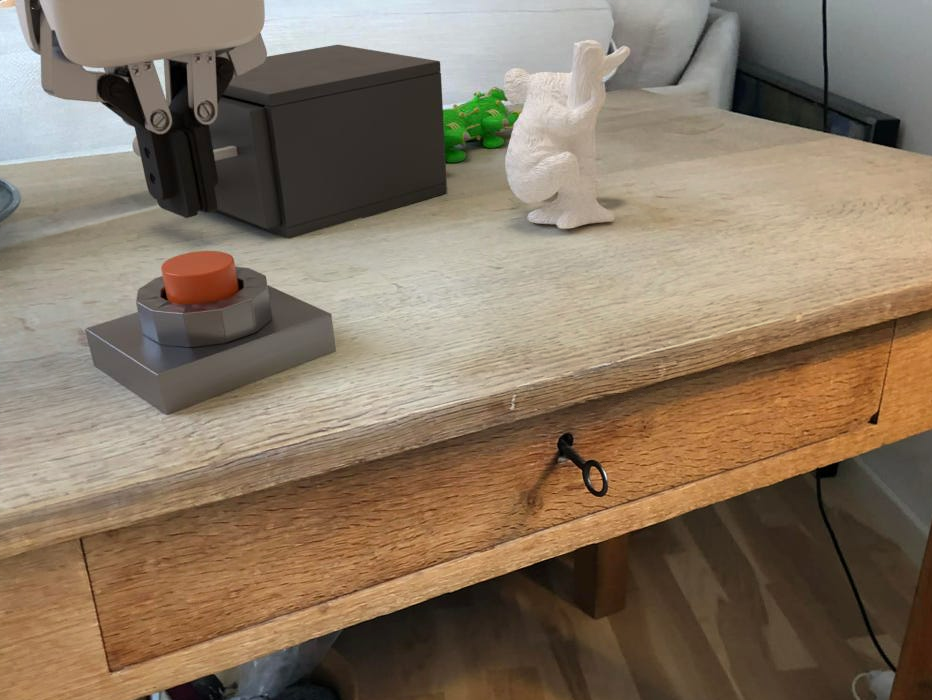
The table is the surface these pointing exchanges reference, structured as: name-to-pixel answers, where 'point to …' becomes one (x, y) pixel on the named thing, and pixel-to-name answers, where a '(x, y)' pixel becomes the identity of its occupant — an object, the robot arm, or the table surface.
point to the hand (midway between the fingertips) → (187, 208)
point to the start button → (200, 277)
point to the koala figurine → (560, 136)
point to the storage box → (348, 132)
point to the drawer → (243, 162)
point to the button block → (208, 342)
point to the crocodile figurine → (476, 122)
